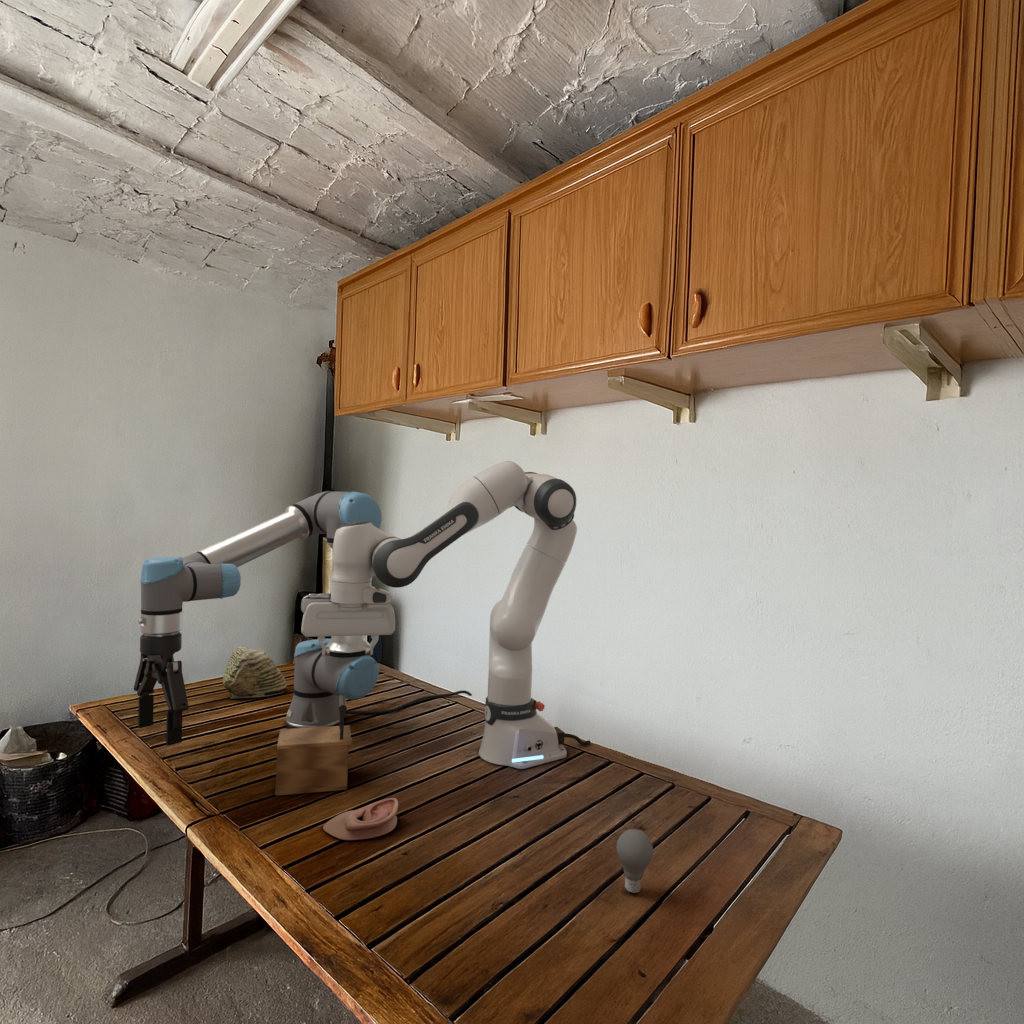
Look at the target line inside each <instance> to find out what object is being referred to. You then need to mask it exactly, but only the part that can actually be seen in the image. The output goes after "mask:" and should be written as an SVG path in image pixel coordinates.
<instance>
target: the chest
mask: <svg viewBox="0 0 1024 1024" xmlns="http://www.w3.org/2000/svg"><path fill="white" fill-rule="evenodd" d="M349 747H350V745H339V746H323V747H308V748H292V749H277V748H276V766H275V767H276V768H275V790H274V791H275V792H274V795H275V796H274V797H276V796H287V795H288V796H289V795H299V794H300V795H301V794H312V793H324V792H335V791H344V790H345V791H347V790H348V777H349V776H348V775H349V774H348V773H349V772H348V770H349V750H350V749H349Z"/></svg>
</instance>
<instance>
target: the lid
mask: <svg viewBox="0 0 1024 1024" xmlns="http://www.w3.org/2000/svg"><path fill="white" fill-rule="evenodd" d="M338 705H339V711H340V721H339V726H329V727H311V728H293V729H289V728H280V729H279V734H278V739H277V745H276V750H277V749H292V748H308V747H323V746H339V745H349V746H351V745H352V734H351V725H350V724H349V725H345V714H344V712H345V711H348V707H347V706H348V705H347V699H346V696H345V695H343V694H342V695H340V696H338Z"/></svg>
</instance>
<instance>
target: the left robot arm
mask: <svg viewBox="0 0 1024 1024" xmlns="http://www.w3.org/2000/svg"><path fill="white" fill-rule="evenodd" d="M382 516H383V515H382V510H381V508H380V505H379V503H378V501H376V500H375V498H374V497H372V496H371V495H369V494H367V493H363V492H359V491H337V490H336V491H335V490H326V491H321V492H319V493H316V494H314V495H311V496H309V497H307V498H304V499H302V500H300V501H298V502H295V503H293V504H291V505H288V506H287V507H285V510H284V512H283V513H280V514H278V515H276V516H274V517H271V518H269V519H267V520H265V521H262V522H260V523H258V524H256V525H253V526H251V527H248V528H246V529H244V530H242V531H239V532H238V533H236V534H233V535H232V536H229V537H227V538H224V539H222V540H220V541H218V542H216V543H214V544H211V545H209V546H207V547H205V548H202V549H200V550H198V551H196V552H193V553H191V554H189V555H186V556H183V557H182V556H181V557H180V556H177V557H173V556H172V557H171V556H166V557H164V556H163V557H162V556H160V557H159V556H157V557H149V558H146V559H145V560H144V561H143V563H142V566H141V572H140V580H139V581H140V618H139V619H138V624H139V625H140V633H141V635H140V637H139V652H140V660H139V664H138V668H137V671H136V677H135V682H134V685H133V691H134V692H136V694H137V697H138V707H137V709H138V711H137V712H138V713H137V728H138V729H143V728H146V727H151V726H154V706H155V705H154V700H155V699H154V698H155V693H156V692H155V686H156V684H159V685H161V688H162V692H163V696H164V699H165V702H166V705H167V710H166V711H165V715H166V724H165V725H166V726H165V728H166V730H165V746H167V747H170V746H173V745H176V744H180V743H183V712H185V711H187V710H189V701H188V696H187V691H186V685H185V680H184V674H183V662H182V660H176V661H175V658H174V655H175V654H176V653H178V652H179V651H180V650H182V644H183V643H182V642H183V641H182V639H183V638H182V637H183V634H182V633H181V631H182V630H183V603H184V602H186V603H187V602H193V601H204V600H206V601H207V600H217V599H221V600H222V599H224V598H229V597H234V596H236V595H237V594H238V592H239V591H240V588H241V584H242V583H241V582H242V576H241V573H240V570H239V567H242V566H243V565H245V564H247V563H249V562H251V561H253V560H256V559H258V558H260V557H262V556H264V555H266V554H268V553H270V552H272V551H275V550H276V549H279V548H280V547H282V546H284V545H287V544H288V543H289V544H290V543H291V542H293V541H295V540H297V539H299V540H306V539H308V538H310V537H312V536H316V535H324V534H325V535H326V544H327V545H328V547H330V549H331V550H332V551H333V542H334V536H335V533H336V530H337V529H338V528H339V527H340V526H341V525H343V524H345V523H349V522H356V521H368V522H371V523H372V524H373V525H374V526H375V527H377V528H378V529H381V526H382V521H383V520H382V519H383V517H382ZM331 566H332V567H331V568H332V572H331V573H332V574H333V564H332V565H331ZM332 574H331V575H332ZM322 642H323V644H324V645H325V647H329V648H330V652H329V656H325V657H322V647H321V646H320V644H319V642H318V638H317V639H308V640H304V641H300V642H299V643H297V645H296V646H295V650H294V655H293V657H294V672H293V673H294V674H293V695H292V696H293V697H292V699H291V702H290V704H289V708H288V709H287V713H286V715H285V726H286V728H287V729H293V728H311V727H329V726H339V721H340V711H339V705H338V697H339V696H340V695H342V694H343V695H345V696H346V700H351V701H357V700H360V699H363V698H364V697H366V696H367V695H368V694H370V692H371V691H372V689H374V687H375V686H376V684H377V682H378V679H379V676H380V675H379V674H380V668H379V664H378V662H377V661H376V659H375V658H374V657H372V656H371V655H366V654H365V650H366V649H365V647H366V646H369V645H370V642H368V640H367V639H366V635H362V636H330V638H325V641H322ZM460 694H465V695H467V696H469V697H472V696H473V694H472V693H471V691H467V690H458V691H453V692H451V693H442V694H441V693H439V694H432V695H426V696H421V697H418V698H416V699H413V700H411V701H408V702H406V703H403V704H401V705H398V706H396V707H392V708H388V709H381V710H380V709H379V710H346V711H345V712H344V715H377V714H387V713H392V712H396V711H400V710H401V709H404V708H405V707H409V706H411V705H413V704H415V703H418V702H422V701H424V700H431V699H438V698H447V697H453V696H456V695H460Z"/></svg>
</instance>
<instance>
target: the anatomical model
mask: <svg viewBox="0 0 1024 1024" xmlns="http://www.w3.org/2000/svg"><path fill="white" fill-rule="evenodd" d="M398 809H399V801H398V799H397V798H396V797H389V798H388V797H387V798H383V799H381V800H378V801H375V802H372V803H369V804H367V805H365V806H363V807H360V808H357V809H353V810H352V809H351V810H348V811H344V812H341V813H340V814H337V815H336V816H333V818H330V819H329V820H328V821H327V822H325V823H324V824H323V826H322V830H323V831H324V832H325V833H326V834H329V835H330V836H332V837H334V838H337V839H339V840H342V841H358V840H359V841H360V840H366V839H373V838H377V837H380V836H383V835H386V834H388V833H390V832H392V831H393V830H394V829H395V828H396V826H397V824H398V817H397V813H398Z"/></svg>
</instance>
